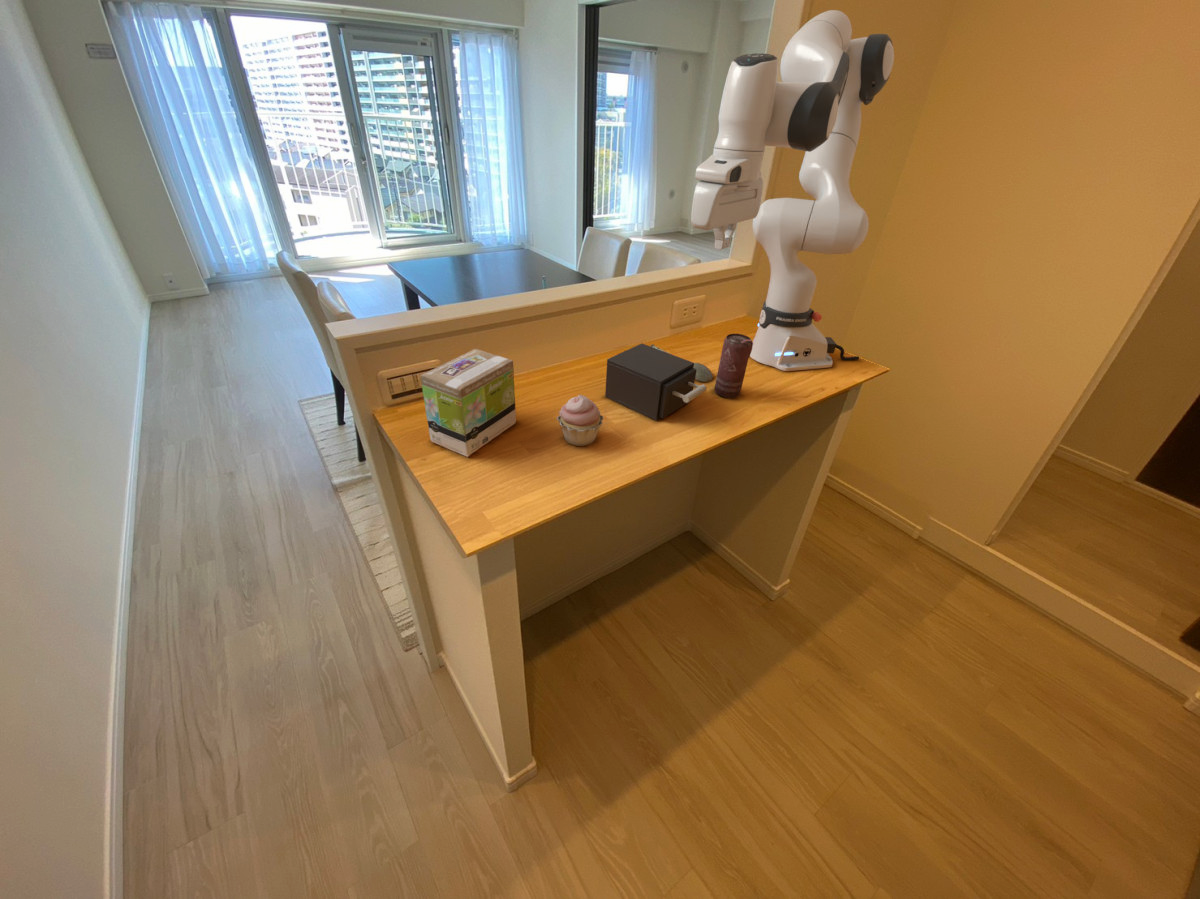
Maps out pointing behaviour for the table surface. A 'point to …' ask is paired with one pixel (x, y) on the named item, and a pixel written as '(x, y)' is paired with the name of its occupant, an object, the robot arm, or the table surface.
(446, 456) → the table surface
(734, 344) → the can
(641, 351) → the black drawer box
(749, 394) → the table surface
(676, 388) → the dark drawer with handle
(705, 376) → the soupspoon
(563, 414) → the cupcake
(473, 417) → the tea box
